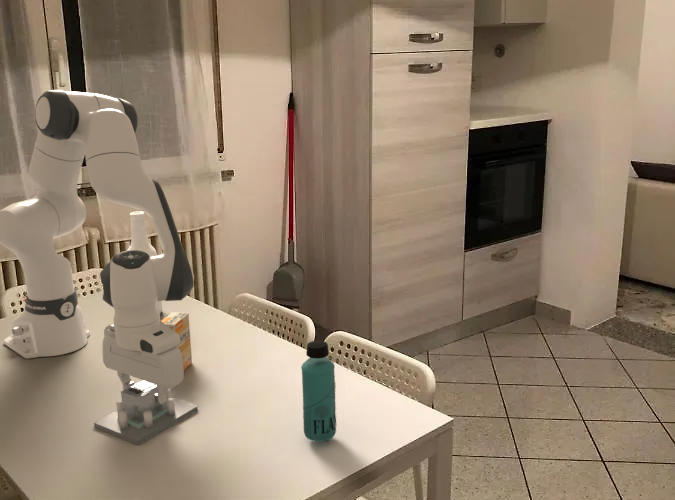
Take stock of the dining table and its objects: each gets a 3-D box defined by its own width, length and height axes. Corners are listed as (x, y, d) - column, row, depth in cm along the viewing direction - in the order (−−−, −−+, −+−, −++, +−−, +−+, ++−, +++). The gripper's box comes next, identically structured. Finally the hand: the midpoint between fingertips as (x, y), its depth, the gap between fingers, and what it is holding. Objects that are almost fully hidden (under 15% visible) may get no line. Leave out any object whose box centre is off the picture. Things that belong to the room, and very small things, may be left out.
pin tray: (94, 427, 142) (92, 409, 141) (154, 395, 155) (153, 378, 154) (138, 445, 135) (136, 426, 134) (197, 410, 148) (196, 393, 147)
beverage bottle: (310, 452, 131) (307, 353, 126) (298, 435, 137) (294, 340, 132) (342, 444, 134) (340, 346, 128) (328, 428, 140) (326, 334, 134)
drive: (123, 418, 142) (120, 391, 141) (153, 402, 149) (151, 376, 147) (138, 424, 140) (135, 396, 138) (168, 407, 147) (166, 380, 145)
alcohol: (165, 308, 208) (156, 208, 200) (159, 318, 199) (149, 215, 191) (134, 309, 208) (124, 209, 199) (128, 320, 199) (117, 216, 191)
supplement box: (179, 377, 163) (174, 325, 159) (160, 376, 164) (155, 323, 160) (193, 362, 171) (189, 312, 167) (174, 361, 172) (170, 311, 168)
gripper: (91, 327, 143) (98, 389, 146) (161, 349, 132) (168, 415, 135) (116, 318, 148) (122, 378, 151) (186, 337, 137) (191, 402, 140)
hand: (144, 396), depth 143 cm, fingers open, 8 cm apart
